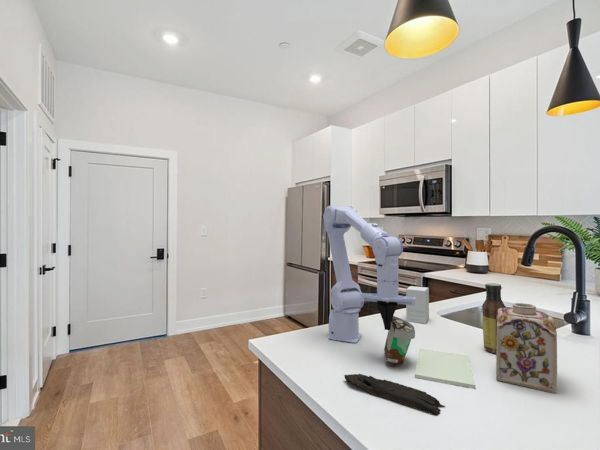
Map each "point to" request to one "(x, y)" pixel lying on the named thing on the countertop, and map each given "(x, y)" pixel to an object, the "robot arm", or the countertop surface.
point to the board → (445, 368)
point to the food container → (398, 341)
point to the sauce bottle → (491, 315)
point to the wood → (397, 393)
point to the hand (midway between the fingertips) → (387, 328)
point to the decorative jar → (526, 347)
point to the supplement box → (418, 304)
